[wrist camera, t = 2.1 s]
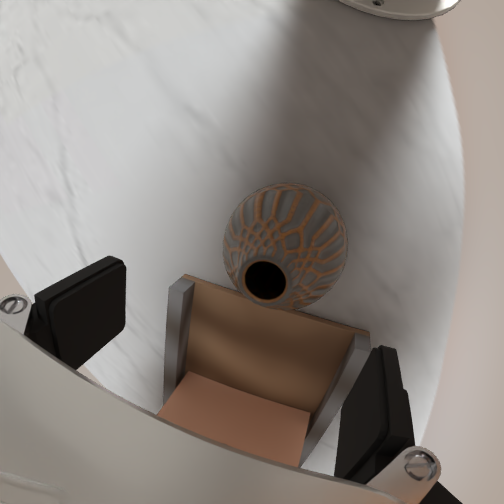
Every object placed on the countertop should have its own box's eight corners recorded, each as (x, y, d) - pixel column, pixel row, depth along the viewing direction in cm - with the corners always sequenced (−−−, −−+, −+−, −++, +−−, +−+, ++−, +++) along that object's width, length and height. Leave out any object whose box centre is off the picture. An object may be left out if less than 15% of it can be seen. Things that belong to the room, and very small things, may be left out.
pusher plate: (188, 369, 27) (148, 424, 21) (311, 411, 25) (295, 478, 18) (187, 380, 28) (149, 434, 21) (305, 421, 26) (289, 486, 19)
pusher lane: (185, 273, 25) (130, 320, 18) (369, 332, 22) (372, 404, 15) (173, 415, 32) (142, 462, 25) (297, 459, 29) (282, 514, 22)
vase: (268, 287, 23) (228, 359, 15) (231, 199, 22) (165, 233, 14) (360, 259, 21) (366, 330, 13) (325, 162, 19) (312, 173, 11)
